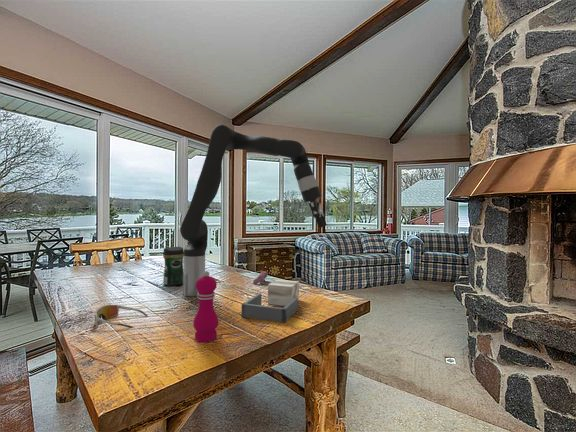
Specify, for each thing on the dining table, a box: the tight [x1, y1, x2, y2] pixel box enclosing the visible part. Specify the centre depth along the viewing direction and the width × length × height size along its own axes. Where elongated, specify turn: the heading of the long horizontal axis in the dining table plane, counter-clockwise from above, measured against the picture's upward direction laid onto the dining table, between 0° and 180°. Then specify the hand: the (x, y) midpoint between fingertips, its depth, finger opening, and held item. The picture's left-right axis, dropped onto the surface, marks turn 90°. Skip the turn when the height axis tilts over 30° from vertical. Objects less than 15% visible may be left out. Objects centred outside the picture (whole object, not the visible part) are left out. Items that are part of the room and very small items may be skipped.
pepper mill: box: [193, 270, 219, 343], centre depth 96 cm, size 7×7×20 cm
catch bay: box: [240, 293, 299, 323], centre depth 119 cm, size 15×16×4 cm
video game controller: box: [252, 270, 269, 285], centre depth 166 cm, size 10×5×7 cm, turn 169°
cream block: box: [267, 279, 300, 307], centre depth 133 cm, size 10×10×8 cm
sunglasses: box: [94, 303, 150, 329], centre depth 109 cm, size 14×15×5 cm
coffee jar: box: [162, 246, 184, 287], centre depth 160 cm, size 10×8×19 cm
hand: (323, 226), depth 130 cm, fingers open, 8 cm apart
